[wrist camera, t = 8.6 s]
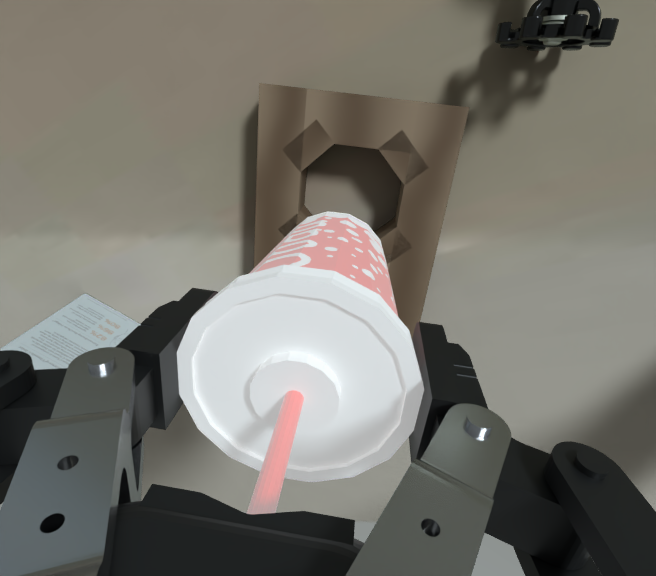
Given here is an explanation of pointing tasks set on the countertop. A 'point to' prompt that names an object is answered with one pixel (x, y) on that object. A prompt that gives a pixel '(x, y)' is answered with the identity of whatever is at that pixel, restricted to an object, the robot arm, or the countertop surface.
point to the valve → (559, 27)
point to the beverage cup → (304, 361)
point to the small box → (73, 333)
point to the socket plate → (369, 132)
